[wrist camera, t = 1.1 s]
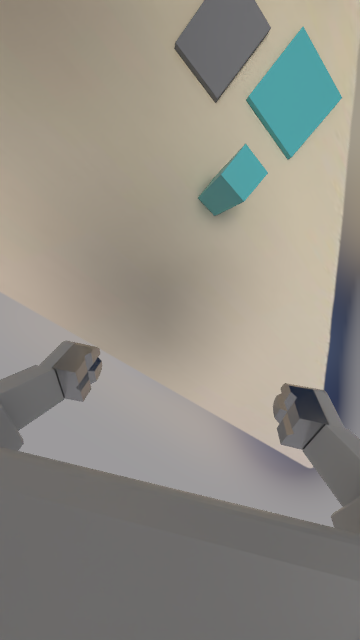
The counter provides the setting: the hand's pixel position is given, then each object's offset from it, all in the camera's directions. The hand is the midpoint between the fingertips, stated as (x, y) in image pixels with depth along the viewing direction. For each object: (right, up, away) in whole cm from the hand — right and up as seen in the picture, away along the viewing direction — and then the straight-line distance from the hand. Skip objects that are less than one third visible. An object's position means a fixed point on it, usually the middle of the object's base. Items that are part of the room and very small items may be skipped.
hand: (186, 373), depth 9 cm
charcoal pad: (+6, +46, +23) cm, 51 cm away
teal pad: (+19, +40, +27) cm, 52 cm away
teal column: (+6, +25, +30) cm, 40 cm away
